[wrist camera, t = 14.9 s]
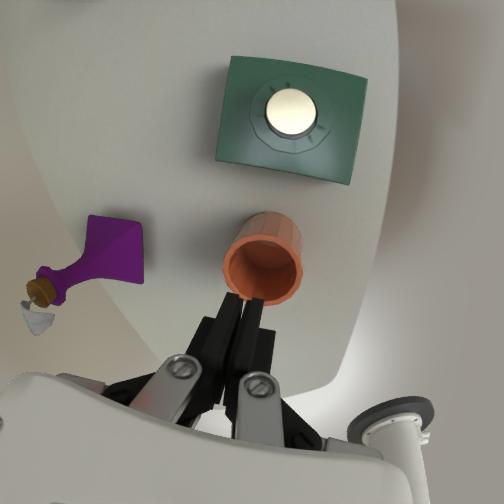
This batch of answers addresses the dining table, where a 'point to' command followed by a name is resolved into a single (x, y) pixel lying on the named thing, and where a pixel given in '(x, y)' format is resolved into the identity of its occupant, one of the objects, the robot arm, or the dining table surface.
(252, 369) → the robot arm
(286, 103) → the metal button cap
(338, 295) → the dining table surface
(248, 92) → the push button base
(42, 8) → the dining table surface
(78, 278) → the perfume bottle
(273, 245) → the cup
